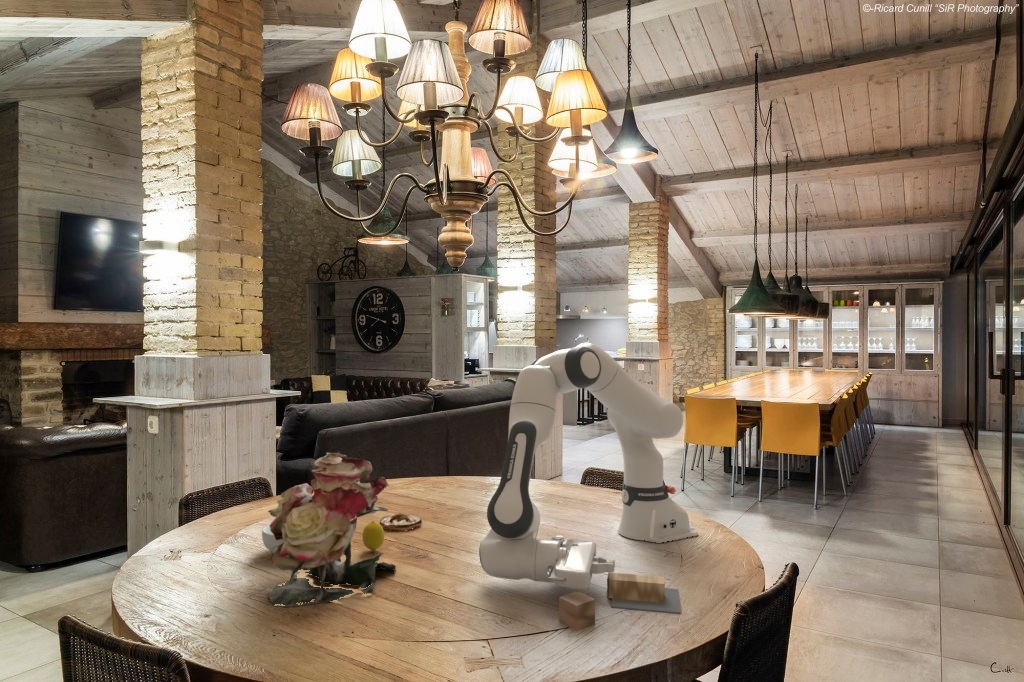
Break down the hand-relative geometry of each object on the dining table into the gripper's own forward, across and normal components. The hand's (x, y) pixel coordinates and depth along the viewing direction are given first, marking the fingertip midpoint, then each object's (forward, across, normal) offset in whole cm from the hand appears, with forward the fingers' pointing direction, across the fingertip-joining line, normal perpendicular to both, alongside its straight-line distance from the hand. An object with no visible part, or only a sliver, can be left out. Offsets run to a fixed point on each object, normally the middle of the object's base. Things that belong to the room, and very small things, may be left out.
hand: (614, 566), depth 137 cm
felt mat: (+7, 0, +6) cm, 9 cm away
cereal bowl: (-82, +10, +7) cm, 83 cm away
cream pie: (-65, +38, +7) cm, 76 cm away
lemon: (-63, +15, +7) cm, 65 cm away
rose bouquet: (-64, -8, +7) cm, 65 cm away
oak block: (-2, 0, +4) cm, 4 cm away
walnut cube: (-7, -14, +7) cm, 17 cm away
